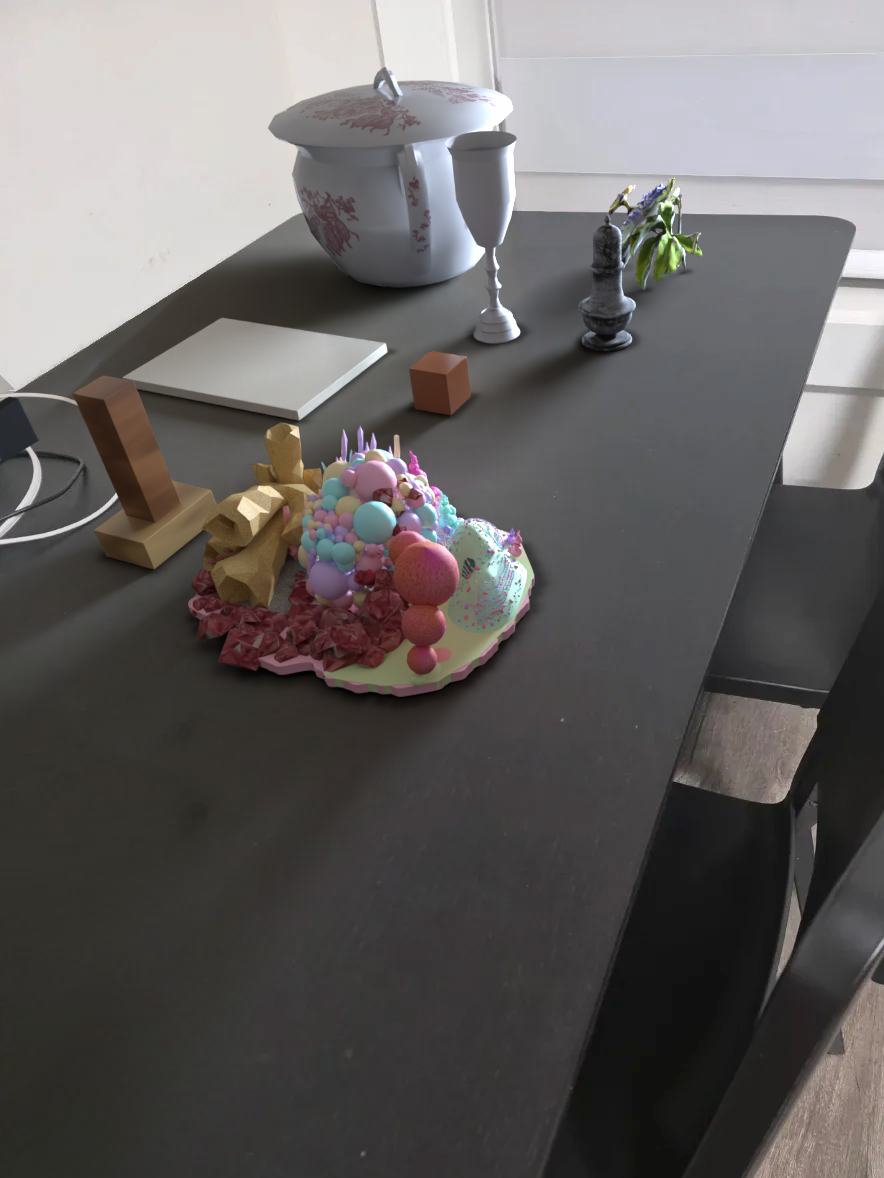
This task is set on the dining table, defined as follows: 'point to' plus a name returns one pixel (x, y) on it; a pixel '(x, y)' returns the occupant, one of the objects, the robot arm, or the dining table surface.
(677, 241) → the passion flower
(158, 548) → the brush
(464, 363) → the clay cube
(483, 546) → the pastel sphere sculpture
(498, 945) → the dining table surface
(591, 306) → the salt shaker
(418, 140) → the chamber pot
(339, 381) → the tile
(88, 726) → the dining table surface
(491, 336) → the chalice
